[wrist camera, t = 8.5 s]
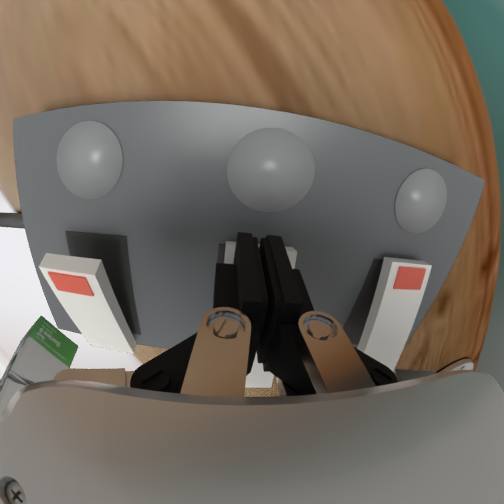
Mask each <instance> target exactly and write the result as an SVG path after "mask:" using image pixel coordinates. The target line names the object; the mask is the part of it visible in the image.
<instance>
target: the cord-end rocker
mask: <svg viewBox="0 0 504 504" xmlns="http://www.w3.org/2000/svg"><path fill="white" fill-rule="evenodd" d="M39 268H40V270H41V272H42V273H43V275H44V277H45V279H46V280H47V282H48V284H49V285H50V287H51V289H52V290H53V292H54V294H55V295H56V297H57V298H58V300H59V301H60V303H61V304H62V306H63V307H64V309H65V310H66V312H67V313H68V315H69V316H70V318H71V319H72V321H73V322H74V323H75V325H76V326H77V327H78V329H79V330H80V332H81V333H82V334H83V335H84V337H85V338H86V339H87V341H88V342H89V343H90V345H92V346H96V347H100V348H105V349H110V350H116V351H121V352H127V353H133V354H134V351H135V346H136V341H135V339H134V337H133V335H132V333H131V330H130V328H129V326H128V324H127V322H126V320H125V318H124V315H123V313H122V311H121V308H120V306H119V304H118V301H117V299H116V297H115V294H114V292H113V289H112V287H111V284H110V282H109V279H108V276H107V274H106V271H105V268H104V266H103V263H102V260H100V259H91V258H83V257H75V256H66V255H58V254H51V253H46V254H45V256H44V258H43V260H42V261H41V263H40V265H39Z"/></svg>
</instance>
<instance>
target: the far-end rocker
mask: <svg viewBox="0 0 504 504" xmlns="http://www.w3.org/2000/svg"><path fill="white" fill-rule="evenodd" d="M431 267H432V265H430V264H428V263H426V262H424V261H418V260H409V259H400V258H390V257H384V260H383V265H382V269H381V273H380V276H379V280H378V284H377V288H376V291H375V295H374V298H373V302H372V305H371V308H370V312H369V315H368V318H367V321H366V324H365V327H364V330H363V333H362V336H361V339H360V342H359V345H358V347H357V349H358V350H360V351H362V352H363V353H365V354H367V355H368V356H370V357H372V358H374V359H375V360H377V361H379V362H380V363H382V364H384V365H385V366H387V367H388V368H390V369H391V370H392V371H393V370H394V368H395V366H396V364H397V362H398V360H399V357H400V355H401V353H402V351H403V348H404V346H405V344H406V341H407V339H408V336H409V334H410V331H411V329H412V326H413V323H414V321H415V318H416V315H417V312H418V310H419V307H420V304H421V301H422V298H423V295H424V291H425V288H426V285H427V282H428V278H429V275H430V271H431Z"/></svg>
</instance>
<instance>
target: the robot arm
mask: <svg viewBox="0 0 504 504" xmlns="http://www.w3.org/2000/svg"><path fill="white" fill-rule="evenodd" d="M256 352H257V361H258V363H263V370H264V372H271V373H272V374H273V375H275V376H276V377H277V378H276V383H277V387H278V390H279V393H280V396H281V397H244V392H245V383H246V376H247V375H248V374H249V373H250V372H251V369H252V366H253V362H254V359H255V355H256ZM473 367H474V364H473V362H472V361H471V359H462V360H460V361H457V362H455V363H453V364H451V365H449V366H448V367H446V368H444V369H443V370H441V371H440V372H438V373H437V372H434V371H420V370H402V369H394V371H392V370H391V369H390V368H388V367H387V366H385V365H384V364H382V363H380V362H379V361H377V360H375V359H374V358H372V357H370V356H368V355H367V354H365V353H363V352H362V351H360V350H358V349H357V348H355V347H353V345H352V343H351V342H350V340H349V338H348V337H347V335H346V333H345V332H344V330H343V328H342V327H341V325H340V323H339V322H338V321H337V320H336V319H335V318H334V317H332V316H331V315H329V314H327V313H324V312H320V311H314V308H313V305H312V303H311V300H310V297H309V294H308V291H307V289H306V286H305V283H304V280H303V278H302V275H301V272H300V270H299V269H292V266H291V263H290V260H289V257H288V254H287V251H286V249H285V246H284V243H283V240H282V237H281V236H275V235H267V236H266V238H261V241H260V246H259V245H258V240H257V237H252V233H244V232H238V233H237V239H236V247H235V254H234V262H233V264H226V263H216V269H215V281H214V296H213V309H211V310H209V311H208V312H207V313H205V314H204V316H203V318H202V319H201V323H200V326H199V329H198V332H197V333H195V334H193V335H192V336H190V337H189V338H187V339H185V340H184V341H182V342H180V343H179V344H177V345H175V346H174V347H172V348H170V349H169V350H167V351H165V352H163V353H162V354H160V355H158V356H157V357H155V358H153V359H152V360H150V361H148V362H146V363H145V364H143V365H141V366H140V367H139V368H137V369H136V370H135V371H125V369H124V368H122V369H64V370H62V371H60V372H58V373H57V374H56V375H55V377H54V378H53V380H49V381H41V382H37V383H33V384H29V385H26V386H25V387H23V388H21V389H20V390H19V391H17V392H16V393H15V394H14V396H13V397H12V398H11V400H10V401H9V403H8V404H7V406H6V408H5V410H4V412H3V415H2V417H1V419H0V504H504V393H503V391H502V389H501V388H500V387H499V385H498V383H497V382H496V380H495V379H494V378H493V377H492V376H490V375H488V374H486V373H484V372H480V371H475V370H473Z"/></svg>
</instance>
